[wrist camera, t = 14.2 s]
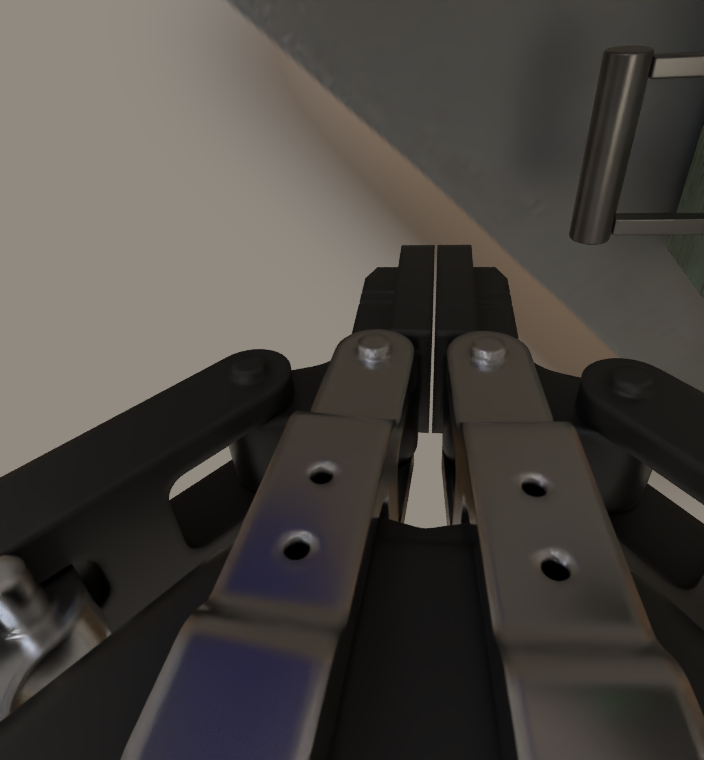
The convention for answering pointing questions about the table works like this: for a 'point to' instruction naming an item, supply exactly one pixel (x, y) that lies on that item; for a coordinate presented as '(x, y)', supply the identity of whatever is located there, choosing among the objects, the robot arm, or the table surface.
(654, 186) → the table surface
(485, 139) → the table surface
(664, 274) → the table surface
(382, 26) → the table surface
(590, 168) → the storage drawer
